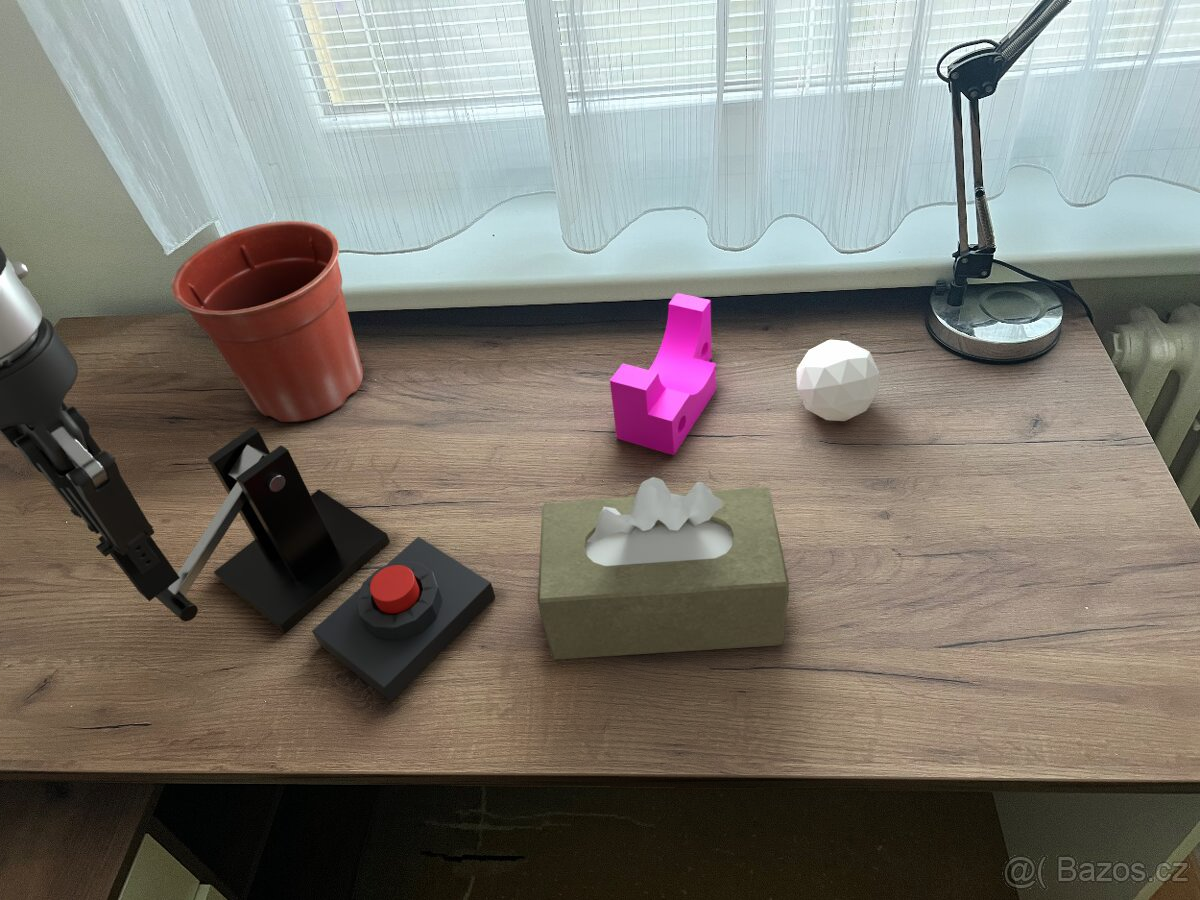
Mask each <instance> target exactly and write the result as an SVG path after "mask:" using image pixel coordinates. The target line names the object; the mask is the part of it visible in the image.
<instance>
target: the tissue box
mask: <svg viewBox="0 0 1200 900" xmlns="http://www.w3.org/2000/svg"><path fill="white" fill-rule="evenodd" d="M779 532H780V531H779V528H778V523H777V518H776V513H775V509H774V503H773V499H772V493H771V488H769V487H768V486H762V487H761V486H759V487H747V488H746V487H745V488H732V489H720V490H718V489H717V490H711V488H709V486H708V485H707V484H706V483H705V482H701V481H696V483H694V485H693V486H692V487H691V489H690V490H689V491H688V492H680V493H679V492H678V493H672V492H671V491H670V489H669V487H668V486H667V485H666V483H665V481H664V480H663V479H661V478H658V477H655V476H652V477H650V478H648V479H645V480H644V481H642V482H641V484H640V485H639V488H638V490H637V493H636V495H635V496H626V497H613V498H611V497H610V498H600V499H587V500H574V501H560V502H559V501H558V502H546V503H544V504H543V505H542V506H541V524H540V542H539V543H540V545H539V564H538V565H539V566H538V584H537V585H538V586H537V605H538V608H539V613H540V617H541V620H542V623H543V628H544V631H545V636H546V639H547V643H548V648H549V651H550V655H551V658H552V659H553V660H568V659H569V660H570V659H581V658H582V659H583V658H584V659H586V658H598V657H599V658H602V657H615V656H617V657H618V656H630V655H646V654H662V653H664V654H665V653H680V652H691V651H692V652H695V651H708V650H709V651H711V650H725V649H740V648H757V647H772V646H773V647H774V646H782V645H783V644H784V643H785V634H786V622H787V610H788V602H789V590H790V589H789V588H790V582H789V577H788V572H787V568H786V562H785V557H784V553H783V547H782V543H781V538H780V533H779Z"/></svg>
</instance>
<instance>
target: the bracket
mask: <svg viewBox="0 0 1200 900" xmlns="http://www.w3.org/2000/svg"><path fill="white" fill-rule="evenodd" d="M246 445H249V446H251V447H253V448H256V449H258V450H260V451H262V452H264V453H266V454H268V455H267V456H265V457H264V458H262V459H261V460H260V461H258V462H257V463H256V464H254V465H253V466H252V467H250V468H249V469H247V470H246V471H245V472H243V473H242V474H241V475H239V476H238V477H236V479H237V480H236V479H235V478H233V477H232V476H230V475H229V474H228V473H229V472H230V470H231V469H232V467H233V465H234V464H235V462H236V461H237V459H238V458H239V456H240V455H241V453H242V452H243V450H244V449H245V447H246ZM207 460H208V461H207V462H209V464H210V466H211V467H212V469H213V471H214V472H215V474H216V476H217V478H218V479H219V481H220V483H221V485H222V486H223V488H224V490H225V491H226V493H227V496H228V495H229V493H230V492H231V490H232V489H233V487H234V486H235V484H236V482H237V481H238V483H239V485H240V487H241V488H242V490H243V492H244V494H245V495H246V497H247V501H246V502H245V504H244V505H243V507H242V508H241V510H240V511H239V513H238V514H239V515H240V517H241V518H242V520H243V522H244V524H245V525H246V527H247V529H248V530H249V532H250V534H251V536H252V537H253V540H252V541H251V542H250V543H249V544H247V545H246V546H244V547H243V548H242V549H241V550H240V551H238V552H237V553H235V555H233V556H232V557H231V558H229V559H228V560H227V561H226V562H224V563H223V564H222V565H221V566H220V567H218V568H217V569H216V570H214V571H213V573H214V576H215V577H216V578H217V579H218V581H219V582H220V583H222V584H223V585H224V586H225V587H227V588H228V589H229V590H230V591H232V593H234V594H235V595H237V596H238V597H239V598H240V599H241V600H243V601H244V602H246V604H248V605H249V606H250V607H251V608H253V609H254V610H255V611H256V612H258V613H259V614H260V615H261V616H263V617H264V618H265V619H266V620H267V621H268V622H270V623H271V624H273V625H274V626H275V627H276V628H277V629H279V630H280V631H281V632H282V633H284V634H286V633H287V632H289V631H290V630H291V629H292V628H294V626H296V625H297V624H298V623H300V621H302V619H304V618H305V617H306V616H307V615H308V614H310V612H312V611H313V610H314V609H315V608H316V607H318V605H320V604H321V603H323V601H324V600H325V599H327V598H328V597H329V596H330V595H331V594H332V593H334V591H336V590H337V589H338V588H339V587H341V585H342V584H344V583H345V582H346V581H347V580H349V579H350V578H351V577H352V576H353V575H354V574H356V572H358V571H359V570H360V569H361V568H362V567H363V566H364V565H365V564H367V563H368V562H369V561H370V560H371V559H373V558H374V557H375V556H376V555H377V554H379V553H380V552H381V551H382V550H383V549H385V547H386V546H387V545H389V544H390V543H391V540H390V537H389V535H388V533H387V532H385V531H384V530H382V529H381V528H379V527H377V526H376V525H374V524H373V523H371V522H370V521H368V520H367V519H365V518H364V517H362V516H361V515H359V514H358V513H356V512H354V511H353V510H351V508H348V507H346V506H345V505H344V504H342V503H341V502H339V501H337V500H336V499H335V498H334V497H333V498H332V497H331V496H330V495H328V494H327V493H326V492H324V491H322V490H320V489H317V490H316V491H315V492H313V493H312V494H310V491H309V489H308V487H307V485H306V483H305V481H304V479H303V477H302V475H301V473H300V471H299V469H298V467H297V465H296V463H295V460H294V459H293V457H292V455H291V453H290V451H289V449H288V448H287V447H285V446H283V445H279V446H277V447H276V448H275V449H273V450H272V451H271V452H270V450H269V448H268V446H267V444H266V442H265V440H264V438H263V436H262V434H261V432H260V431H259V430H258V429H256V428H255V427H253V426H251V427H249V428H247V429H246V430H245V431H244V432H242V433H241V434H240V435H238V436H236V437H235V438H234V439H232V440H231V441H230V442H228V443H227V444H225V445H224V446H222V447H221V448H220V449H218V450H217V451H215V452H214V453H212V454H211V455H210V456H208V457H207Z"/></svg>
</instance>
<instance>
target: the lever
mask: <svg viewBox="0 0 1200 900" xmlns="http://www.w3.org/2000/svg"><path fill="white" fill-rule="evenodd" d="M267 455H268V454H266V453H264V452H262V451H260V450H258V449H256V448H253V447H251V446H249V445H246V447H245V449H244V450H243V452H242V453H241V455H240V456H239V458H238V459H237V461H236V462H235V464H234V465H233V467H232V469H231V470H230V472H229V473H228V474H229V475H230V476H232V477H233V478H235V479H236V477H238V476H239V475H241V474H242V473H243V472H245V471H246V470H247V469H249V468H250V467H252V466H253V465H254V464H256V463H257V462H258V461H260V460H261V459H262V458H264V457H265V456H267ZM236 480H237V479H236ZM246 501H247V497H246V495H245V494H244V492H243V490H242V488H241V487H240V485H239V483H238V481H237V482H236V484H235V486H234V487H233V489H232V490H231V492H230V493H229V495H228V494H227V496H226V497H225V499H224V500H223V502H222V504H221V505H220V507H219V509H218V510H217V512H216V513H215V515H214V516H213V518H212V519H211V521H210V523H209V524H208V526H207V527H206V529H205V530H204V532H203V533H202V535H201V536H200V538H199V540H198V541H197V543H196V544H195V546H194V547H193V549H192V550H191V552H190V554H189V555H188V557H187V558H186V560H185V562H184V563H183V564H182V566H181V568H180V569H179V570H178V572H177V574H178V576H179V577H180V578H179V579H178V580H177V581H175V582H174V583H173V584H172V585H170V586H169V587H168V588H166V589H165V590H164V591H162V592H161V593H160V594H158V595H157V596H156V597H155V598H156V599H157V600H158V601H159V602H160V603H162V604H163V606H165V607H166V608H167V609H168V610H169V611H171V613H173V614H174V616H176V617H177V618H178V619H180V621H182V622H191V621H192V620H193V619H194V618H196V616H197V614H198V612H199V610H198V607H197V605H196V604H194V602H192V601H191V600H190V599H189V598H187V597H186V596H187V594H188V593H189V591H190V590H191V588H192V586H193V585H194V583H195V582H196V580H197V578H198V577H199V576H200V574H201V572H202V571H203V569H204V568H205V566H206V564H207V562H209V560H210V558H211V556H212V555H213V554H214V552H215V551H216V549H217V548H218V546H219V544H220V542H221V541H222V540H223V538H224V537H225V534H226V533H227V532H228V530H229V529H230V527H231V525H232V524H233V522H234V521H235V519H236V518H237V516H238V515H239V514H240V513H239V511H240V510H241V508H242V507H243V505H244V504H245V502H246Z"/></svg>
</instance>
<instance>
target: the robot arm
mask: <svg viewBox="0 0 1200 900" xmlns="http://www.w3.org/2000/svg"><path fill="white" fill-rule="evenodd" d="M28 275H29V270H28V268H27V265H25V263H22V262H21V261H13V262H11V261H10V260H9V258H8V257H7V256H6V253H5V251H4V250H3V248H2V247H1V246H0V434H1V435H2V437H3V438H4V439H5V440H6V441H7V442H8V443H9V444H11V445H12V447H14V448H17V449H18V451H19V452H20V453H21V454H22V456H23V457H24V458H25V459H26V461H27V462H28V463H29V464H30V465H31V466H32V467H33V468H34V469H36V470H37V471H38V472H39V473H41V474H42V475H43V477H44V478H45V479H46V480H47V482H48V483H49V484H50V485H51V487H53V489H54V490H55V492H56V493H57V494H58V495H59V496H60V497H61V499H62V500H63V501H64V503H66V504H67V506H68V507H69V509H70V512H71V513H72V515H73V516H74V517H75V516H76V517H77V518H79V519H81V518H82V520H83V521H84V522H85V524H86V526H87V527H86V528H87V529H88V530H89V531H90V533H92V532H93V533H94V534H96V535H98V534H100V535H101V536H100V537H98V538H97V540H98V541H99V542H100V543H98V544H97V545H96V546H95V548H96V549H97V550H98V551H99V552H100V554H102V556H104V558H106V557H107V556H111V557H112V559H113V560H114V561H115V563H116V564H117V566H118V567H119V569H121V570H122V571H123V573H124V574H125V575H126V577H127V579H129V581H130V582H131V584H132V585H133V586H134V587H135V589H136V590H137V591H138V593H139V594H140V595H142V596H143V597H144V598H145V599H146V600H147V601H149V602H151V601H152V600H153V599H155V598H156V596H157V595H158V594H160V593H161V592H162V591H164V590H165V589H166V588H168V587H169V586H170V585H172V584H173V583H174V582H175V581H177V580H178V579H179V578H180V577H179V576H178V572H177V571H176V570H175V569H174V567H173V566H172V564H171V563H170V562H169V560H168V559H167V557H166V556H165V554H164V553H163V552H162V550H161V549H160V547H159V546H158V544H157V543H156V542H155V540H154V539H153V535H154V534H155V530H154V526H152V524H151V523H150V522H149V520H148V519H147V517H146V516H145V513H144V512H143V510H142V509H141V507H140V505H139V504H138V502H137V500H136V498H135V497H134V495H133V494H132V492H131V490H130V488H129V487H128V485H127V483H126V482H125V480H124V479H123V477H122V475H121V473H120V468H119V466H118V464H117V462H116V458H115V457H114V456H113V454H111V453H109V452H108V451H106V450H103V451H102V449H101V448H100V446H99V445H98V444H97V442H96V440H94V438H93V436H92V435H91V433H90V428H91V427H90V425H89V423H88V422H87V420H86V419H85V417H84V416H83V415H82V413H81V412H80V411H79V410H78V409H77V408H76V407H75V406H74V405H70V406H69V407H68V406H67V405H66V403H65V402H64V400H65V398H66V396H67V394H68V393H69V391H71V390H72V388H73V387H74V385H75V383H76V380H77V378H78V372H79V367H78V362H77V360H76V358H75V357H74V356H73V354H72V352H71V351H70V349H69V348H68V346H67V345H66V343H65V341H64V340H63V338H62V337H61V336H60V334H59V333H58V331H57V329H56V328H55V327H54V325H53V323H52V322H51V321H50V320H49V319H47V318H46V317H45V316H44V317H43V311H42V309H41V306H40V305H39V304H38V302H37V301H36V299H35V298H34V296H33V295H32V293H31V291H30V290H29V289H28V287H27V286H25V285H23V283H22V281H21V280H22V279H25V278H26V277H27V276H28Z"/></svg>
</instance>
